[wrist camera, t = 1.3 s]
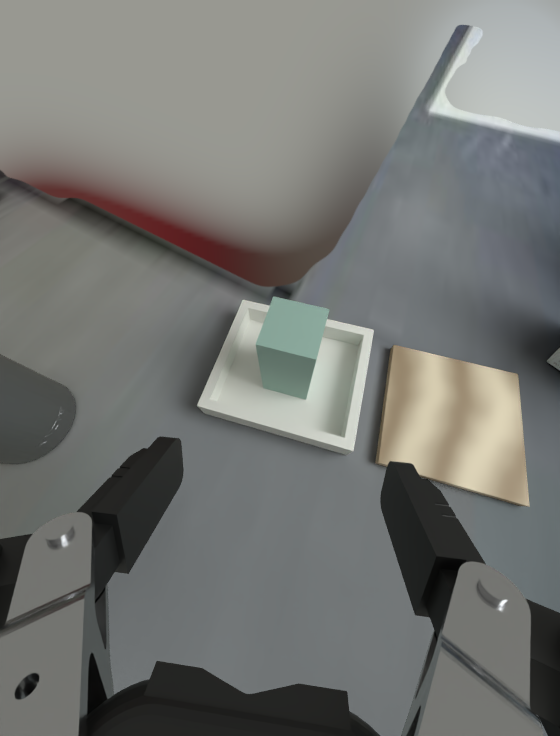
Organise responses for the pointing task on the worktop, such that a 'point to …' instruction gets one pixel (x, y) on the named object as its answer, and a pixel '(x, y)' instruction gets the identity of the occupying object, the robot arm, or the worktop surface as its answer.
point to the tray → (284, 412)
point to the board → (454, 424)
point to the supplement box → (555, 359)
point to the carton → (290, 346)
